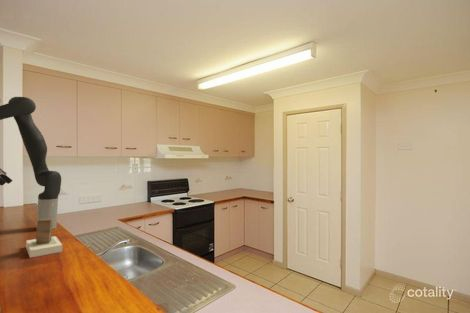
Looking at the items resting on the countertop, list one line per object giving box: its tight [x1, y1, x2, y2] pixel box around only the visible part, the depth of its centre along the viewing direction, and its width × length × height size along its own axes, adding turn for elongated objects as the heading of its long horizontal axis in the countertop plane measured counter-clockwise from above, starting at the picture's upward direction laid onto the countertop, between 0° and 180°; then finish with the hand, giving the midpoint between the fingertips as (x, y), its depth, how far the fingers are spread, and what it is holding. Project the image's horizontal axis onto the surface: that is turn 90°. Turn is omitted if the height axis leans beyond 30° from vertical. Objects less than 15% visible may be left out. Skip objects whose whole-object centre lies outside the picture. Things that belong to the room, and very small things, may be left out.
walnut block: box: [35, 218, 53, 244], centre depth 111 cm, size 5×5×10 cm
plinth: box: [25, 235, 63, 259], centre depth 111 cm, size 16×11×3 cm
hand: (7, 183), depth 116 cm, fingers open, 8 cm apart
